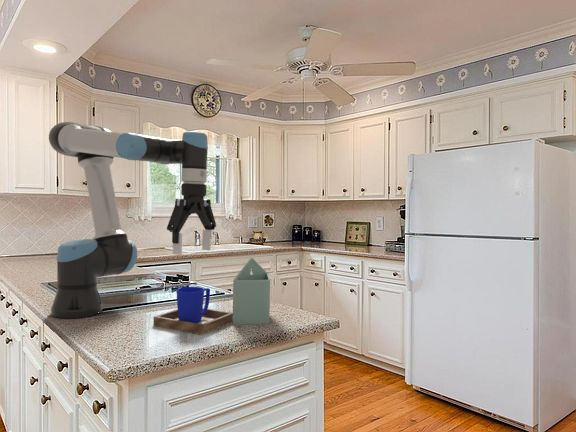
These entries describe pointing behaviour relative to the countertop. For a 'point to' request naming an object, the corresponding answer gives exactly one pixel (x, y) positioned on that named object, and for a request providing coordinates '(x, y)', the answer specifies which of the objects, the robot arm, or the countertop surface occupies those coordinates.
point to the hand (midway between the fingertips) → (192, 252)
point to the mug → (192, 303)
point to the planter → (251, 295)
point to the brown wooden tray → (207, 323)
